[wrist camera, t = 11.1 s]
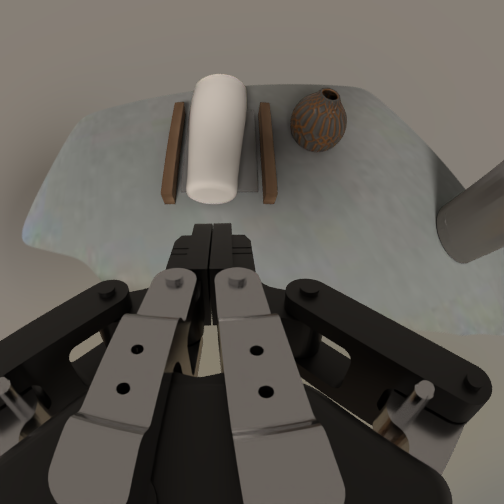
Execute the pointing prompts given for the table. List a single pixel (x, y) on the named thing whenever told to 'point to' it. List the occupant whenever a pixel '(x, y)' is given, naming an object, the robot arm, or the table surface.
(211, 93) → the white cup
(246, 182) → the cradle
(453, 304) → the table surface
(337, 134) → the vase
